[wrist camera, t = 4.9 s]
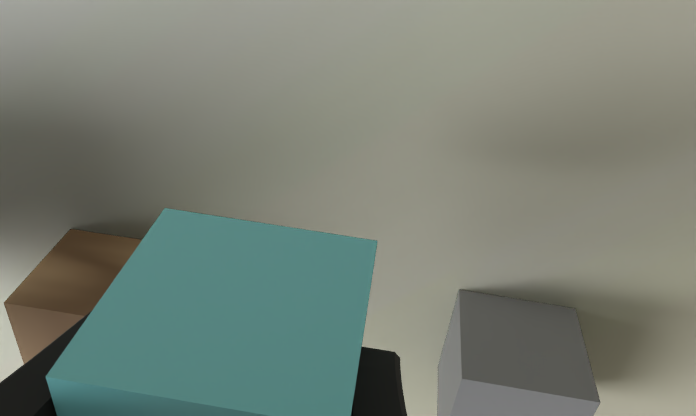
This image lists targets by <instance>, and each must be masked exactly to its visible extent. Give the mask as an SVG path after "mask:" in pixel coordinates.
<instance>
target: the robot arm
mask: <svg viewBox="0 0 696 416" xmlns="http://www.w3.org/2000/svg"><path fill="white" fill-rule="evenodd" d="M91 312H92V311H91ZM91 312H89V313H88V314H87V315H85V316H84V317H83V318H82V319H80V320H79V321H78V322H77V323H75V324H74V325H73V326H72V327H70V328H69V329H68V330H67V331H65V332H64V333H63V334H62V335H60V336H59V337H58V338H57V339H55V340H54V341H53V342H52V343H51V344H49V345H48V346H47V347H45V348H44V349H43V350H42V351H40V352H39V353H38V354H37V355H35V356H34V357H33V358H32V359H30V360H29V361H28V362H27V363H25V364H24V365H23V366H21V367H20V368H19V369H18V370H16V371H15V372H14V373H12V374H11V375H10V376H8V377H7V378H6V379H4V380H3V381H2V382H1V383H0V416H57V414H56V410H55V407H54V404H53V400H52V397H51V393H50V390H49V387H48V383H47V380H46V375H47V374H48V373H49V371H50V370H51V368H52V367H53V365H54V364H55V363H56V361H57V360H58V358H59V357H60V356H61V354H62V353H63V351H64V350H65V348H66V347H67V346H68V344H69V343H70V341H71V340H72V339H73V337H74V336H75V334H76V333H77V331H78V330H79V329H80V327H81V326H82V324H83V323H84V322H85V320H86V319H87V317H88V316H89V315H90V313H91ZM351 416H407V413H406V408H405V402H404V396H403V389H402V382H401V371H400V357H399V356H398V355H397V354H396V353H395V352H391V351H385V350H379V349H373V348H366V347H361V353H360V359H359V366H358V372H357V379H356V385H355V392H354V398H353V405H352V412H351Z"/></svg>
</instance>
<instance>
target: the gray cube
mask: <svg viewBox="0 0 696 416" xmlns="http://www.w3.org/2000/svg"><path fill="white" fill-rule="evenodd" d="M599 404H600V400H599V396H598V392H597V388H596V385H595V381H594V377H593V373H592V369H591V366H590V362H589V358H588V354H587V351H586V347H585V343H584V339H583V335H582V332H581V328H580V324H579V320H578V317H577V313H576V309H575V308H570V307H564V306H558V305H551V304H545V303H539V302H533V301H527V300H521V299H515V298H508V297H502V296H496V295H490V294H484V293H478V292H472V291H465V290H459V291H458V295H457V299H456V302H455V306H454V310H453V313H452V317H451V321H450V324H449V328H448V332H447V335H446V339H445V342H444V346H443V350H442V353H441V357H440V361H439V364H438V398H437V416H593V415H594V413H595V412H596V410H597V408H598V406H599Z"/></svg>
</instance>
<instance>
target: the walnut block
mask: <svg viewBox="0 0 696 416" xmlns="http://www.w3.org/2000/svg"><path fill="white" fill-rule="evenodd" d="M141 241H142V240H140V239H134V238H127V237H121V236H114V235H108V234H101V233H94V232H88V231H81V230H75V229H70V230H69V231H68V232H67V233H66V234H65V236H64V237H63V238H62V239H61V240H60V241H59V242H58V243H57V244H56V246H55V247H54V248H53V249H52V250H51V251H50V252H49V253H48V254H47V256H46V257H45V258H44V259H43V260H42V261H41V262H40V263H39V264H38V265H37V267H36V268H35V269H34V270H33V271H32V272H31V273H30V274H29V275H28V277H27V278H26V279H25V280H24V281H23V282H22V283H21V284H20V285H19V287H18V288H17V289H16V290H15V291H14V292H13V293H12V294H11V295H10V296H9V298H8V299H7V300H6V301H5V302H4V305H5V308H6V311H7V314H8V317H9V320H10V323H11V326H12V329H13V332H14V335H15V338H16V341H17V344H18V347H19V350H20V353H21V356H22V359H23V362H24V364H25V363H27V362H28V361H29V360H30V359H32V358H33V357H34V356H35V355H37V354H38V353H39V352H40V351H42V350H43V349H44V348H45V347H47V346H48V345H49V344H51V343H52V342H53V341H54V340H55V339H57V338H58V337H59V336H60V335H62V334H63V333H64V332H65V331H67V330H68V329H69V328H70V327H72V326H73V325H74V324H75V323H77V322H78V321H79V320H80V319H82V318H83V317H84V316H85V315H87V314H88V313H89V312H91V311H92V310H93V309H94V307H95V306H96V305H97V303H98V302H99V300H100V299H101V298H102V296H103V295H104V293H105V292H106V290H107V289H108V288H109V286H110V285H111V283H112V282H113V281H114V279H115V278H116V276H117V275H118V273H119V272H120V271H121V269H122V268H123V266H124V265H125V264H126V262H127V261H128V259H129V258H130V256H131V255H132V254H133V252H134V251H135V249H136V248H137V247H138V245H139V244H140V242H141Z"/></svg>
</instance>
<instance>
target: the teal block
mask: <svg viewBox="0 0 696 416" xmlns="http://www.w3.org/2000/svg"><path fill="white" fill-rule="evenodd" d="M376 248H377V241H375V240H369V239H362V238H356V237H349V236H343V235H336V234H330V233H324V232H317V231H311V230H304V229H298V228H291V227H285V226H278V225H272V224H265V223H259V222H252V221H246V220H239V219H233V218H226V217H220V216H213V215H207V214H201V213H194V212H188V211H181V210H175V209H168V208H164V210H163V211H162V213H161V214H160V215H159V217H158V218H157V220H156V221H155V223H154V224H153V225H152V227H151V228H150V230H149V231H148V232H147V234H146V235H145V237H144V238H143V240H142V241H141V242H140V244H139V245H138V247H137V248H136V249H135V251H134V252H133V254H132V255H131V256H130V258H129V259H128V261H127V262H126V264H125V265H124V266H123V268H122V269H121V271H120V272H119V273H118V275H117V276H116V278H115V279H114V281H113V282H112V283H111V285H110V286H109V288H108V289H107V290H106V292H105V293H104V295H103V296H102V298H101V299H100V300H99V302H98V303H97V305H96V306H95V307H94V309H93V310H92V312H91V313H90V315H89V316H88V317H87V319H86V320H85V322H84V323H83V324H82V326H81V327H80V329H79V330H78V331H77V333H76V334H75V336H74V337H73V339H72V340H71V341H70V343H69V344H68V346H67V347H66V348H65V350H64V351H63V353H62V354H61V356H60V357H59V358H58V360H57V361H56V363H55V364H54V365H53V367H52V368H51V370H50V371H49V373H48V374H47V375H46V380H47V383H48V387H49V390H50V393H51V397H52V400H53V404H54V407H55V410H56V414H57V416H351V412H352V405H353V398H354V392H355V385H356V379H357V372H358V366H359V359H360V353H361V347H362V340H363V334H364V327H365V320H366V314H367V307H368V301H369V294H370V287H371V281H372V274H373V267H374V261H375V254H376Z"/></svg>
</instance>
